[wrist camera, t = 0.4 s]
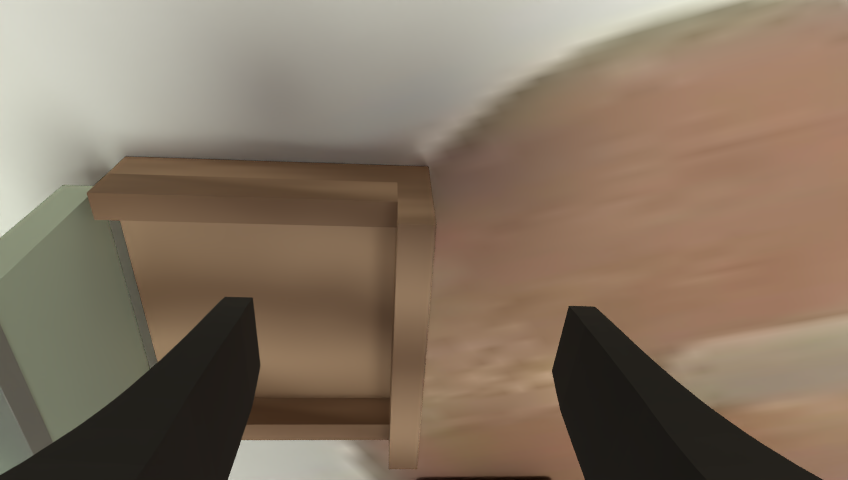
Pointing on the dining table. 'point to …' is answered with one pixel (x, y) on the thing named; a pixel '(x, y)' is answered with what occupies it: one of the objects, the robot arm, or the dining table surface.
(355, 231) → the tray
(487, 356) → the dining table surface
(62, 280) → the panel
